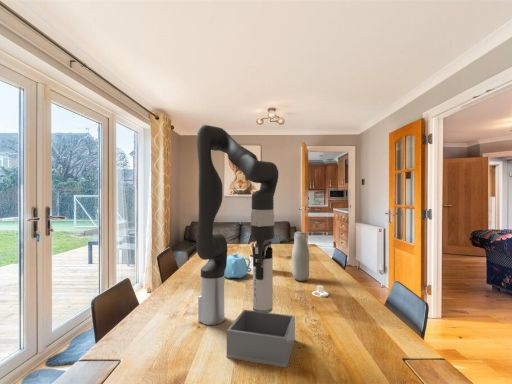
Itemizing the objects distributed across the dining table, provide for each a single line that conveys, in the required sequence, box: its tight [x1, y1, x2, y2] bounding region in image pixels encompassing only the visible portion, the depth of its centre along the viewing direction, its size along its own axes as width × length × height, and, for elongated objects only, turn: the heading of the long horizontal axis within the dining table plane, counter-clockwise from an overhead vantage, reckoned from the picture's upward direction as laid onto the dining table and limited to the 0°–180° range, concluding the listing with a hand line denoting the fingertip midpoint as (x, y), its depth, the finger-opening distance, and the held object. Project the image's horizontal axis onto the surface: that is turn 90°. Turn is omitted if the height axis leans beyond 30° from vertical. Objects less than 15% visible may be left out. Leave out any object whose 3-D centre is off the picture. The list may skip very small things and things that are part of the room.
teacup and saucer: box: [311, 284, 329, 298], centre depth 139 cm, size 9×8×4 cm
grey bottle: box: [291, 230, 310, 282], centre depth 162 cm, size 10×10×28 cm
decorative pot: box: [225, 253, 252, 279], centre depth 170 cm, size 16×16×14 cm
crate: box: [226, 309, 296, 368], centre depth 89 cm, size 18×16×8 cm
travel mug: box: [252, 246, 274, 314], centre depth 90 cm, size 6×7×20 cm
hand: (262, 276), depth 90 cm, fingers closed on travel mug, 6 cm apart
